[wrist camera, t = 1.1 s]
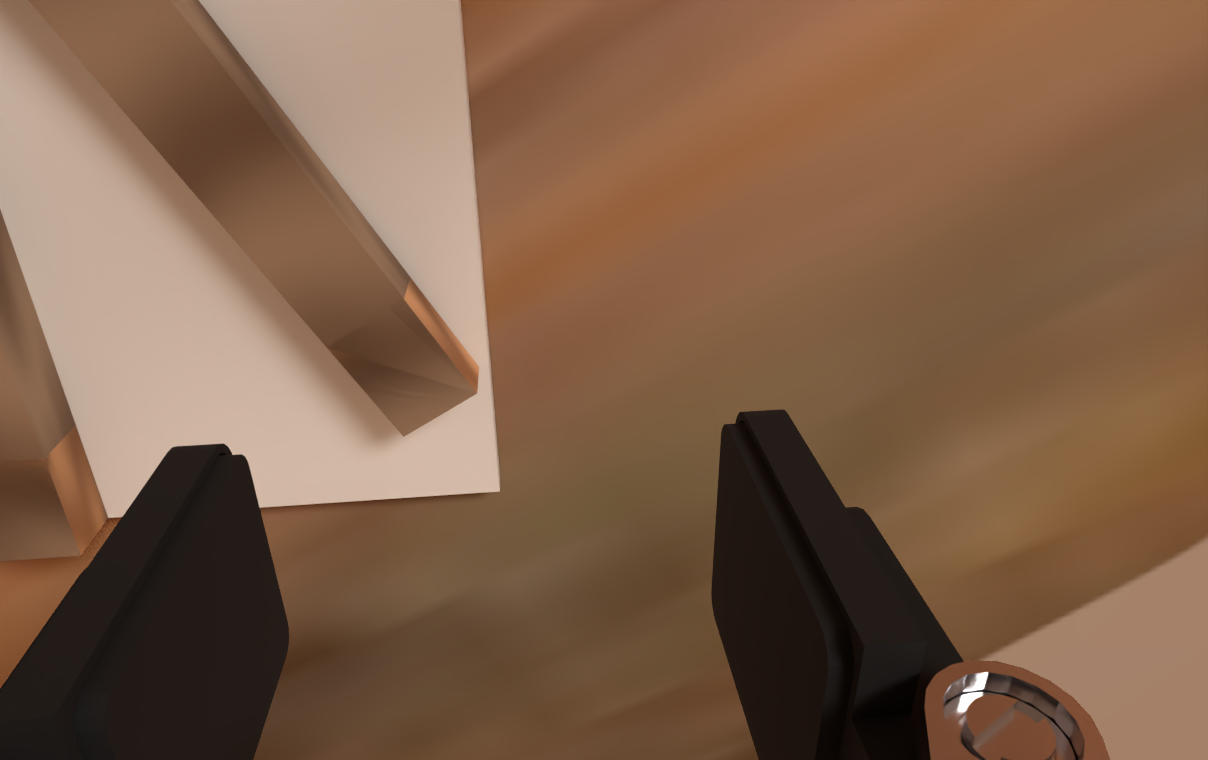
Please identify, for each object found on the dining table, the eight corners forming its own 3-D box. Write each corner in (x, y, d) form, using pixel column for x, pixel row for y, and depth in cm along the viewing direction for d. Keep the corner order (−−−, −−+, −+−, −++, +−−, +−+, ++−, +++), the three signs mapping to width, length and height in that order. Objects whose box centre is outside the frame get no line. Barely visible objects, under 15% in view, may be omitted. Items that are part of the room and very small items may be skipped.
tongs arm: (-141, -249, 20) (-204, -269, 18) (-51, -325, 20) (-106, -354, 18) (409, 408, 30) (403, 436, 28) (479, 367, 29) (477, 393, 27)
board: (-461, -453, 19) (-510, -475, 18) (425, -430, 21) (421, -447, 20) (-33, 512, 31) (-49, 528, 30) (500, 477, 33) (499, 491, 32)
